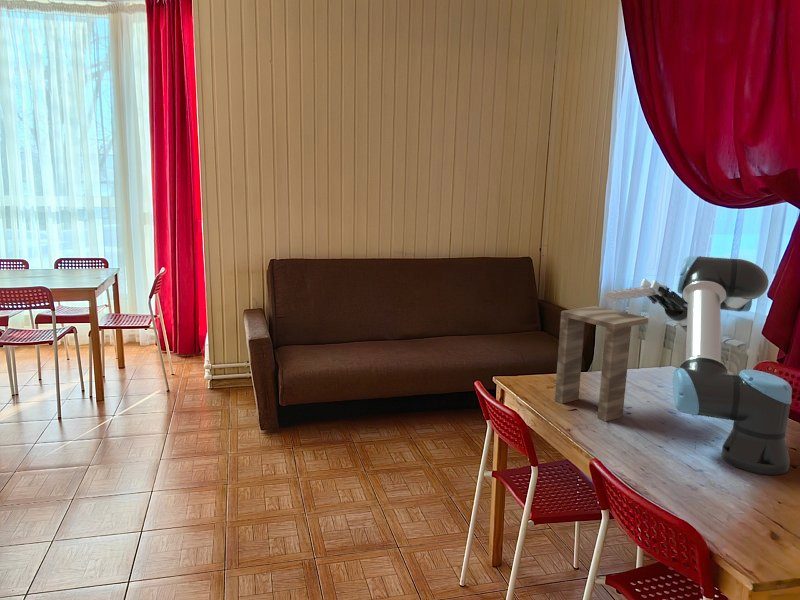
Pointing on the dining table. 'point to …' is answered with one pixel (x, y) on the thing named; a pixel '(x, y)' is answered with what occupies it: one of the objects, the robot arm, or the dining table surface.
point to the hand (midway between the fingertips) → (647, 283)
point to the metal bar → (630, 293)
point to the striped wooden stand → (612, 356)
